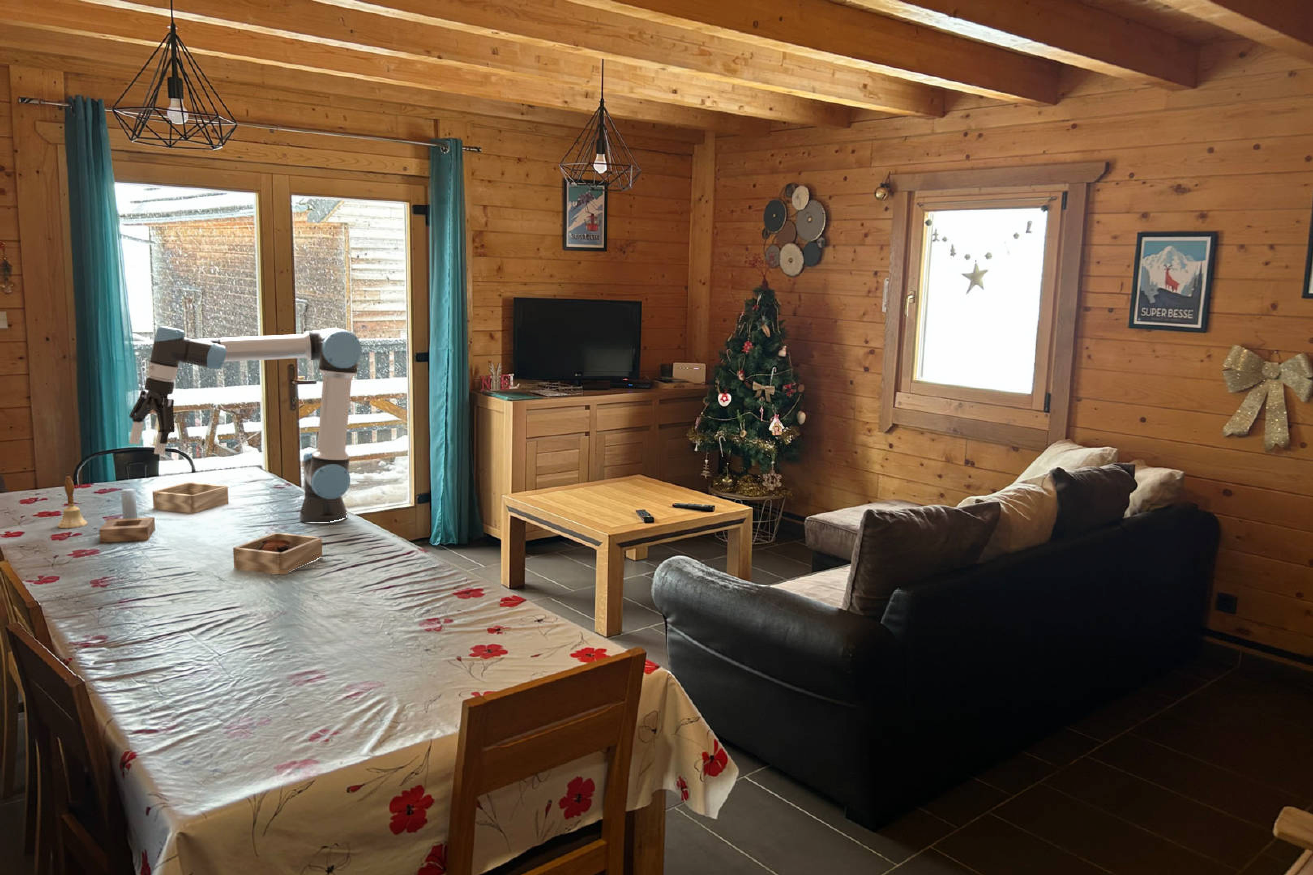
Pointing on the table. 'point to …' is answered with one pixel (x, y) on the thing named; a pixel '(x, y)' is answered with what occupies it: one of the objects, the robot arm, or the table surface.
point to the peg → (129, 503)
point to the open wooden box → (277, 554)
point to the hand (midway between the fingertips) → (146, 448)
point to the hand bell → (71, 509)
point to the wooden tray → (190, 497)
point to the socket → (127, 529)
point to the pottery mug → (276, 545)
